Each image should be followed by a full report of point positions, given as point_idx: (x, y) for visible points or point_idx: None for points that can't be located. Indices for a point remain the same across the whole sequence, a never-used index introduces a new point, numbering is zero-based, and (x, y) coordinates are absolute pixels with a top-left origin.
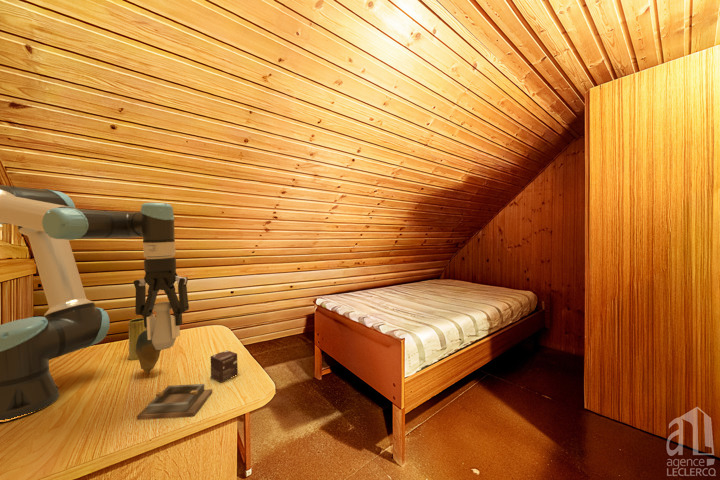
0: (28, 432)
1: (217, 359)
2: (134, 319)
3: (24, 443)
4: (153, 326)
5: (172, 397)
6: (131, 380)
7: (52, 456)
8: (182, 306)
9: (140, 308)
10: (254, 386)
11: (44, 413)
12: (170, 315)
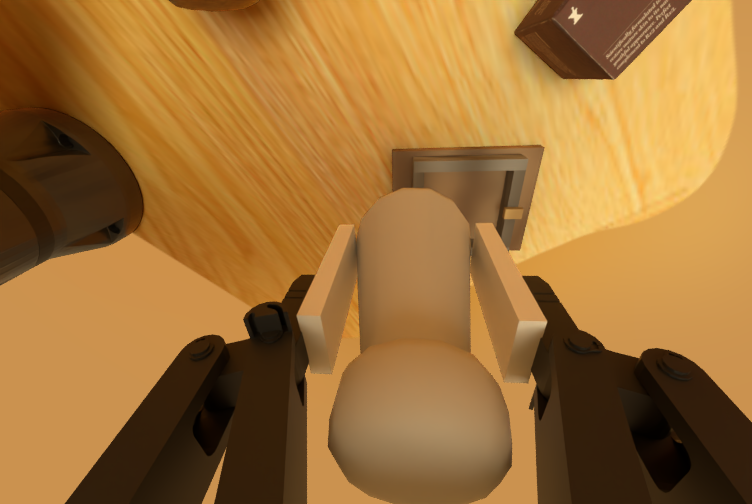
0: (215, 262)
1: (593, 61)
2: None
3: (245, 287)
4: (344, 282)
5: (438, 185)
6: (215, 36)
7: None
8: (667, 473)
9: (227, 439)
10: (684, 113)
11: (166, 208)
12: (469, 326)
